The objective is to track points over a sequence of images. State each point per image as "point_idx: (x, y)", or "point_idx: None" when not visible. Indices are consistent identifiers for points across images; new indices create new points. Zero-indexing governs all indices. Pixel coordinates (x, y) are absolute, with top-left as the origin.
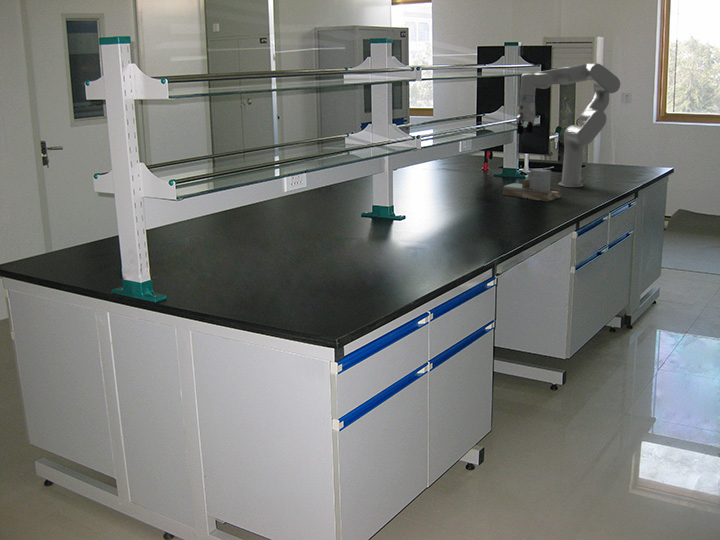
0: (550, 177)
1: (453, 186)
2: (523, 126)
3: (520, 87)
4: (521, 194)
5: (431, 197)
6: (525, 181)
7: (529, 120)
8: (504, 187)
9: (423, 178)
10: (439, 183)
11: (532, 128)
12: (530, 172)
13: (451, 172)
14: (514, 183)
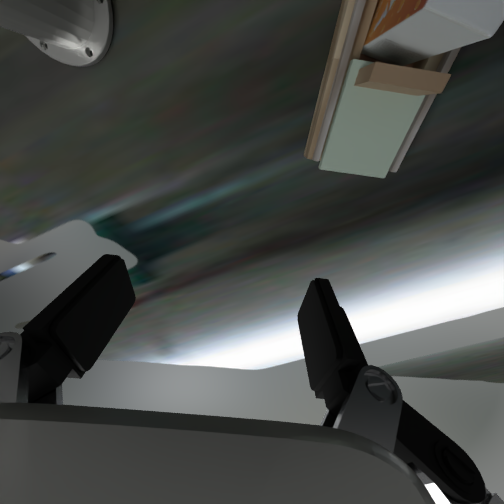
0: None
1: None
2: (347, 352)
3: None
4: None
5: (459, 282)
6: (444, 75)
7: (230, 464)
8: (395, 170)
9: (267, 346)
10: None
11: (86, 283)
12: (479, 39)
13: (183, 338)
14: (325, 165)
